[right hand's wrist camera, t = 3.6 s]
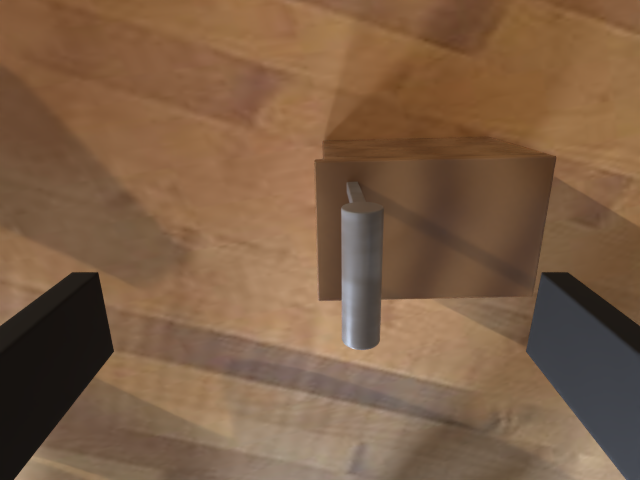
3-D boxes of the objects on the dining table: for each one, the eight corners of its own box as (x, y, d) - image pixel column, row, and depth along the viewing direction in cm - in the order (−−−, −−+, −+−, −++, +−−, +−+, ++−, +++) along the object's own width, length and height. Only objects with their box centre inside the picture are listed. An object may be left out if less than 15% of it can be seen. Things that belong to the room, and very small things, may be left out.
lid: (318, 294, 29) (317, 369, 21) (314, 159, 26) (312, 189, 18) (526, 290, 29) (601, 363, 21) (548, 153, 26) (646, 182, 18)
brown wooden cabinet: (324, 246, 38) (326, 294, 29) (322, 140, 35) (323, 158, 26) (477, 242, 38) (526, 290, 29) (489, 136, 35) (548, 153, 26)
